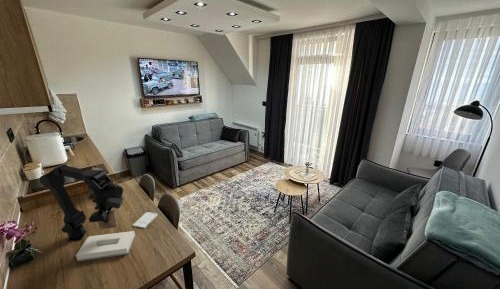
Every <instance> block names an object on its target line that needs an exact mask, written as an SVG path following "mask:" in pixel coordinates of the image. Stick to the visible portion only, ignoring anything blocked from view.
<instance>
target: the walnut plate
mask: <svg viewBox="0 0 500 289" xmlns="http://www.w3.org/2000/svg"><path fill="white" fill-rule="evenodd" d="M107 212H110V213H109V215H108V223H104V222H103V221H99V222H97V224H98V228H99V230H106V229H113V228H118V226H119V220H118V216H117V212H116V209H114V210H112V209H111V211H107Z"/></svg>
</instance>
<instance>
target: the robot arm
mask: <svg viewBox="0 0 500 289" xmlns="http://www.w3.org/2000/svg"><path fill="white" fill-rule="evenodd" d="M53 168H54V169H52V170H51V171H49V172H47V173H45V174H43V175H41V176H40V177H39V179H38V180H39V183H40V185H42V186H43V188H44V189H47V190H48V191H51V193H52V195H53V197H54V198H55V200H56V201H57V204H58V205H59V207H60V209H61V211H62V213H63V215H64V217H63V223H64V226H63V227H62V228H61V232H62V233H64V234H67V236H68V238H67V242H75V241H81V240H82V239H83V237H85V235H86V233H87V232H88V230H86V229H85V226H84V223H85V224H86V220H87V216H86V214H85V212H84V211H83V210H80V209H77V208H76V206H75V204H74V202H73V201H72V199H71V197H70V195H69V193H68V191H67V189H66V188H65V183H66V180H65V177H67V178H72V179H76V180H78V181H79V180H80V181H82V182H83V183H84V184H85V185H87V189H88V188H89V189H92V192H93V195H94V198H93V199H92V202H93V203H95V205H96V206H95V207H94V210H96V211H94V212H92V214H91V215H90V216H89V218H88V221H89V223H96V222H97V223H98V222H99V221H103V222H104V223H108V215H109V213H110V212H107V211H111V210H112V209H113V208H114V209H117V210H118V209H120V208H121V206H122V205H123V201H124V197H123V193H124V188H123V187H122V186H121V185H119V184H117V183H115V184H114V183H113V182H114V181H113V179H112V178H111V177H110V176H109V175H108V174H107V173H106V172H105V171H104V170H103V171H101V170H91V169H90V170H86V169H83V168H78V167H74V166H71V165H70V166H69V165H67V164H61V165H59V166H56V167H53ZM105 180H106V182H104V183H102V184H100V183H101V182H103V181H105ZM88 185H89V186H88Z"/></svg>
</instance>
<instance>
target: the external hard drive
mask: <svg viewBox="0 0 500 289" xmlns="http://www.w3.org/2000/svg"><path fill="white" fill-rule="evenodd" d="M157 216H158V213H156V212H149V211H148V212H147V211H146V212H144V214H142V215H141V216H140V218H139V219H137V220H136V221H135V222H134V223H133V224H132V225H131V226H132V227H134V228H139V229H144V228H145V229H146V227H148V226H149V225H150V224H151V223H152V221H154V220H155V218H157ZM149 223H150V224H149ZM148 224H149V225H148ZM147 225H148V226H147Z"/></svg>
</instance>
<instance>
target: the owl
mask: <svg viewBox="0 0 500 289" xmlns="http://www.w3.org/2000/svg"><path fill="white" fill-rule="evenodd" d="M90 170H101V171H104V168H103V167H102V168H101V167H99V168H98V167H94V166H93V167H92V166H91V169H90ZM104 182H106V180H105V181H103V182H101V183H100V184H102V183H104ZM88 186H89V185H87V187H88ZM87 198H88V200H94V195H93V192H92V189H89V188H87Z"/></svg>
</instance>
